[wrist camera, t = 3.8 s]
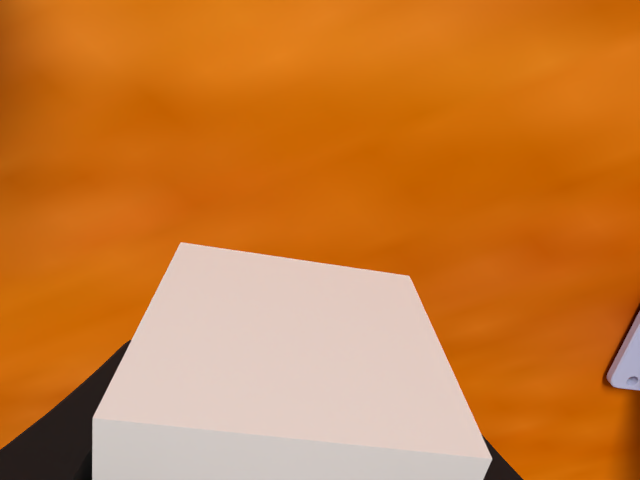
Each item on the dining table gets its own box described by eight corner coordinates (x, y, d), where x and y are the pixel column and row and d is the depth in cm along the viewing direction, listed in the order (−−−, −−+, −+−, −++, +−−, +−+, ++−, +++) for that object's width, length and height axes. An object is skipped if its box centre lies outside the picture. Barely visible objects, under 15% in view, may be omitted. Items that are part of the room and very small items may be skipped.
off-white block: (409, 276, 11) (492, 458, 6) (360, 442, 13) (397, 673, 8) (180, 242, 10) (92, 418, 6) (165, 422, 12) (91, 659, 8)
